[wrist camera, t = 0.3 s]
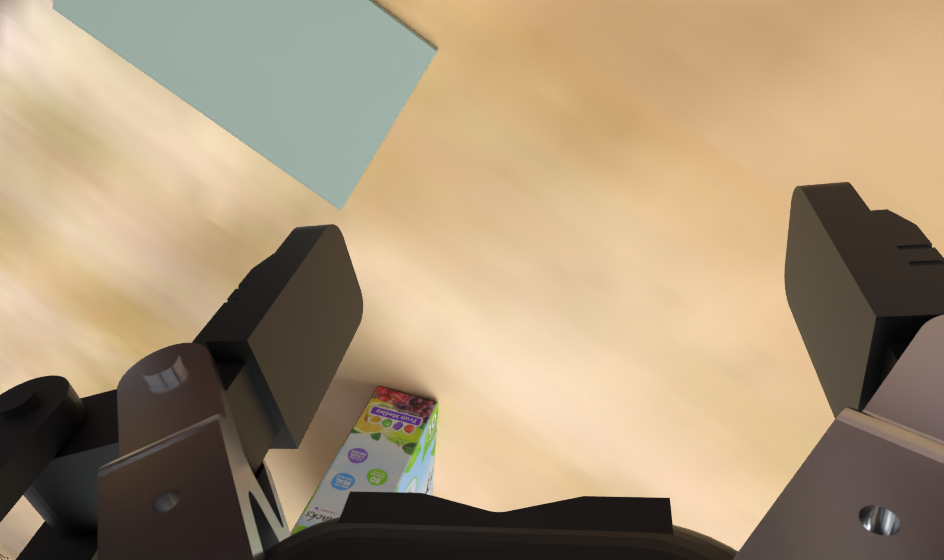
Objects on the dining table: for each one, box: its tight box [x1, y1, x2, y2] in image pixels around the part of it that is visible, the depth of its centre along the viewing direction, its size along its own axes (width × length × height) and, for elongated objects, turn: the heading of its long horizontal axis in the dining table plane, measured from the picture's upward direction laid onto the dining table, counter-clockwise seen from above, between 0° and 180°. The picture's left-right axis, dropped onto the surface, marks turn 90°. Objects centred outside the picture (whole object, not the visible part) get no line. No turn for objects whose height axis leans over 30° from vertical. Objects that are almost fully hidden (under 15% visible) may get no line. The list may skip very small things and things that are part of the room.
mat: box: [53, 0, 438, 210], centre depth 35 cm, size 12×20×1 cm, turn 57°
